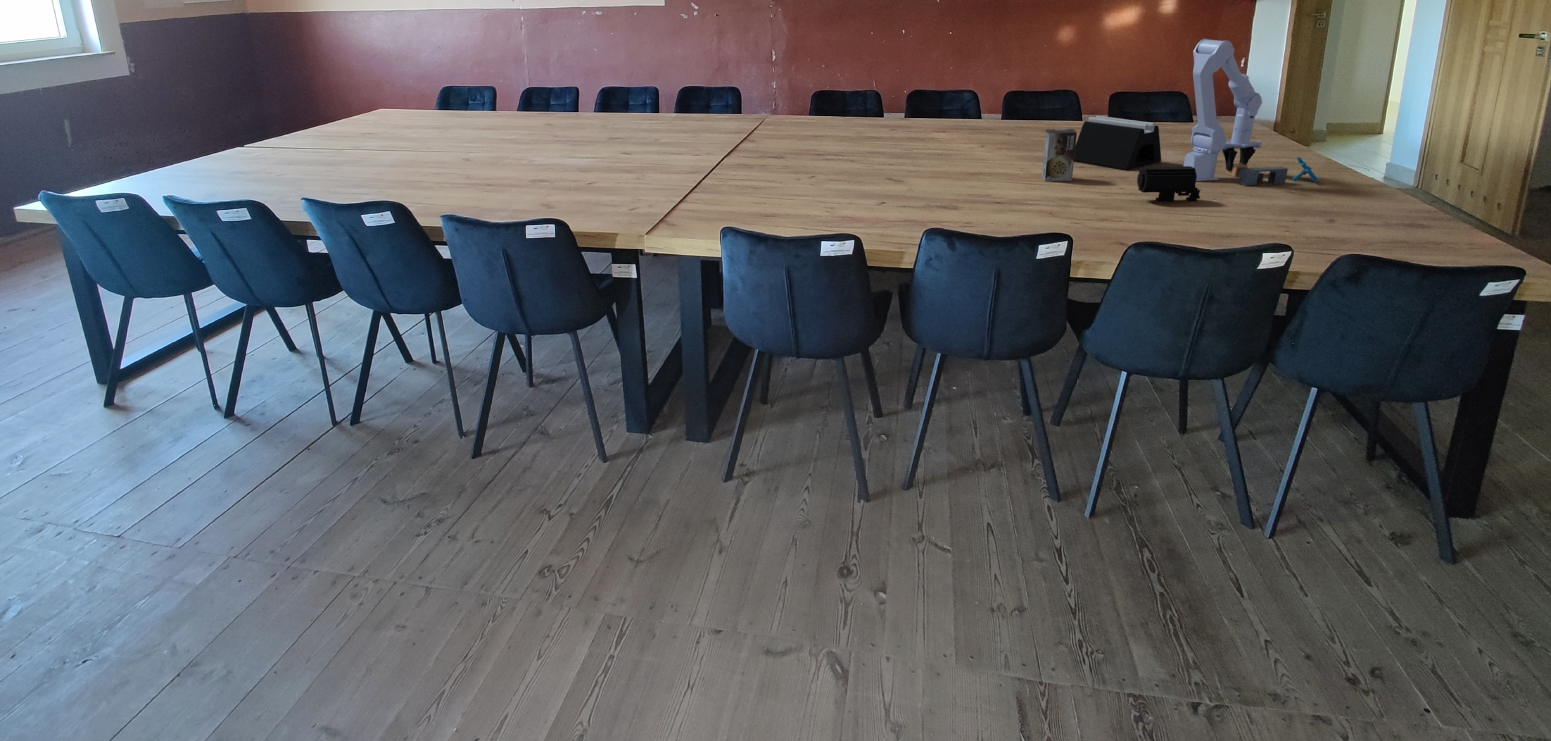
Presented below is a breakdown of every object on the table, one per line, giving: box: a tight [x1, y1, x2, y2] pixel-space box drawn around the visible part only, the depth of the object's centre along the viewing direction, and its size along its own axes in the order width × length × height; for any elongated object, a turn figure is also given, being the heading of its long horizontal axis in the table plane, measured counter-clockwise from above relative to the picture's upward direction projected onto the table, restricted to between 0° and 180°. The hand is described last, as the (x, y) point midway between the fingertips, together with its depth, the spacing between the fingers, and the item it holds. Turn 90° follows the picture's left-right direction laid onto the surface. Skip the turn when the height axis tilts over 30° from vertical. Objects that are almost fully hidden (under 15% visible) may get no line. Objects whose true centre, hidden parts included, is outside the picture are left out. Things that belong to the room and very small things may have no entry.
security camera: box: [1136, 165, 1201, 203], centre depth 275 cm, size 7×18×10 cm, turn 89°
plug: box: [1225, 161, 1265, 184], centre depth 302 cm, size 15×4×4 cm, turn 8°
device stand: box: [1074, 115, 1162, 172], centre depth 327 cm, size 22×22×15 cm
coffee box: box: [1041, 128, 1078, 182], centre depth 303 cm, size 9×6×16 cm
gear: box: [1292, 156, 1320, 184], centre depth 298 cm, size 11×6×10 cm
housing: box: [1238, 166, 1289, 187], centre depth 294 cm, size 14×3×5 cm, turn 98°
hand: (1234, 170), depth 308 cm, fingers closed on plug, 4 cm apart
